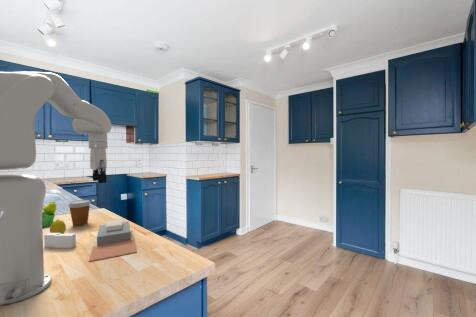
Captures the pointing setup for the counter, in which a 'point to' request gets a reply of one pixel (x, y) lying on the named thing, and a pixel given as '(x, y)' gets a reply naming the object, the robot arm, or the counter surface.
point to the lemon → (58, 227)
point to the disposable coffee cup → (79, 212)
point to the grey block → (113, 235)
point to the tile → (114, 225)
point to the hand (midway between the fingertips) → (99, 181)
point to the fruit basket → (48, 214)
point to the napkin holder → (59, 240)
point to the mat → (112, 250)
